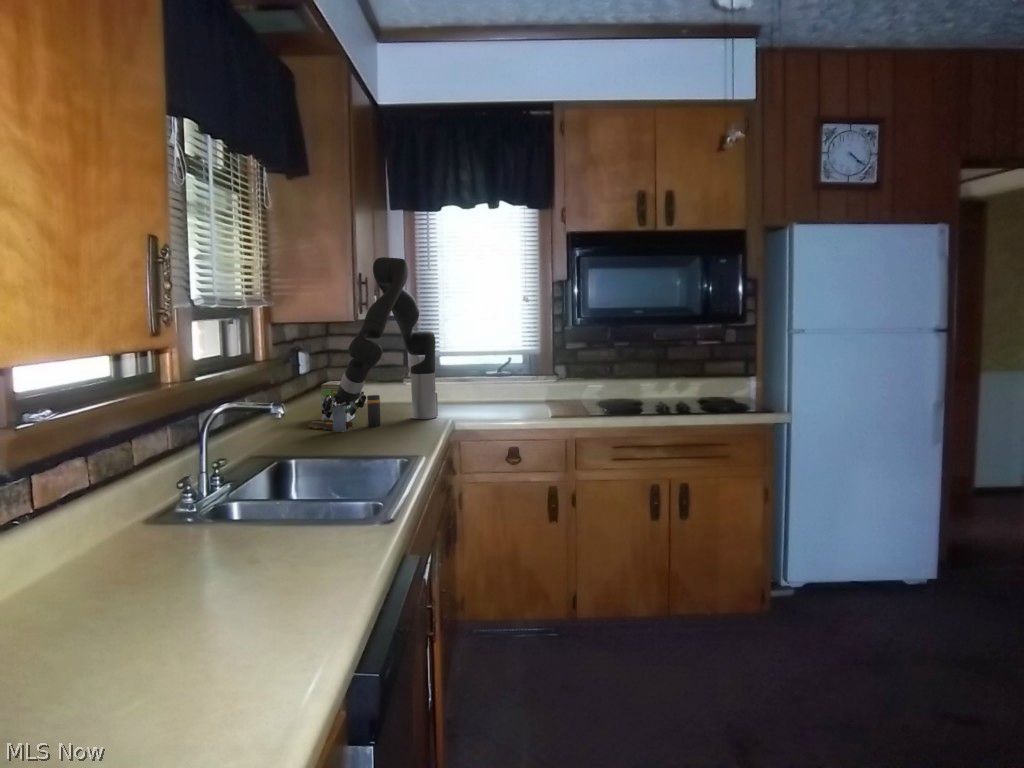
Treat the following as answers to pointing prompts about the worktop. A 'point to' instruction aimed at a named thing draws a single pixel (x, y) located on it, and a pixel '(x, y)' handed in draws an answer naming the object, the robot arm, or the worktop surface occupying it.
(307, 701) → the worktop surface
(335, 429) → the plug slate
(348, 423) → the rack
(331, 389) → the tea box
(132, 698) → the worktop surface
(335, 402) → the robot arm
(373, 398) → the dark grey cylinder
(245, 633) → the worktop surface
